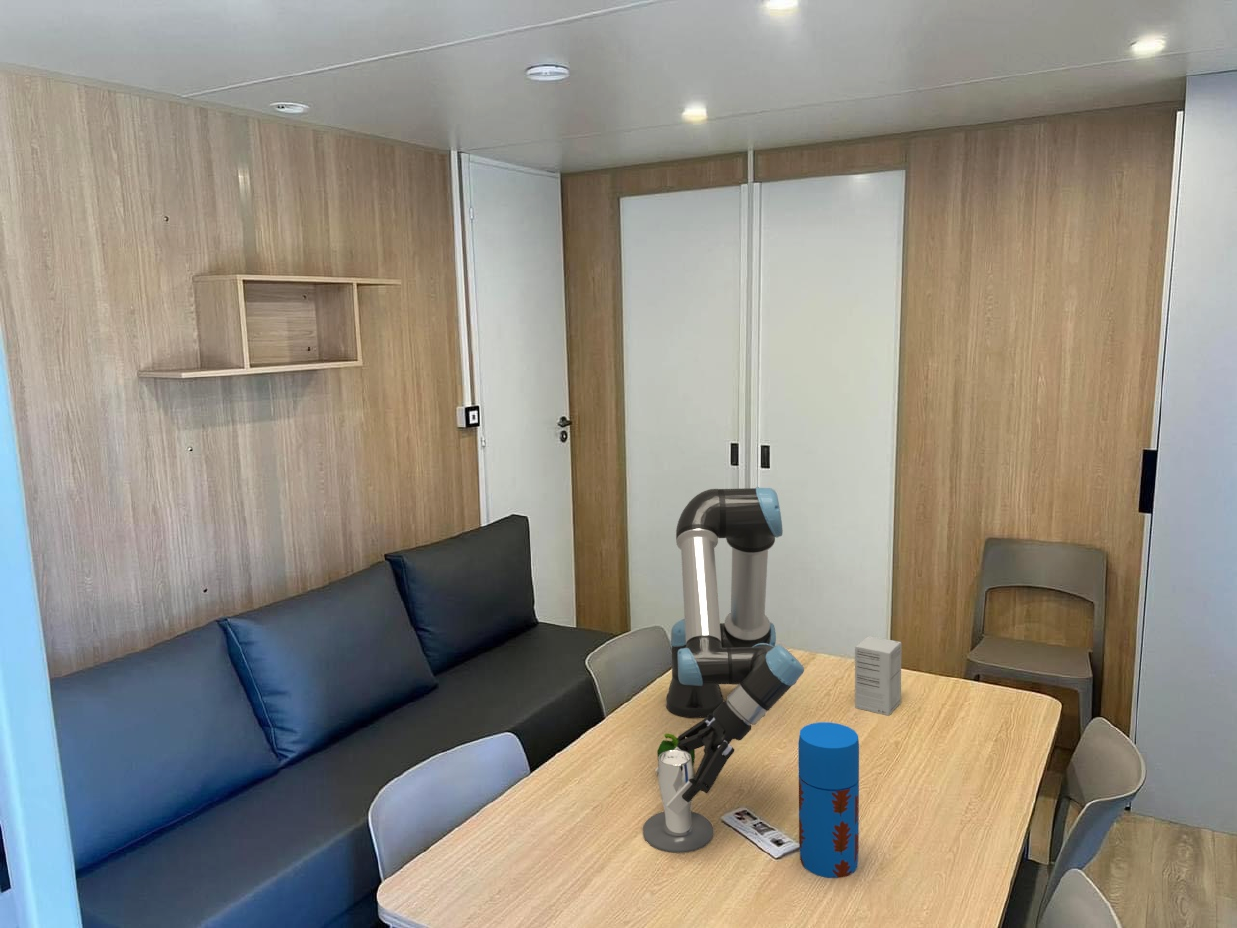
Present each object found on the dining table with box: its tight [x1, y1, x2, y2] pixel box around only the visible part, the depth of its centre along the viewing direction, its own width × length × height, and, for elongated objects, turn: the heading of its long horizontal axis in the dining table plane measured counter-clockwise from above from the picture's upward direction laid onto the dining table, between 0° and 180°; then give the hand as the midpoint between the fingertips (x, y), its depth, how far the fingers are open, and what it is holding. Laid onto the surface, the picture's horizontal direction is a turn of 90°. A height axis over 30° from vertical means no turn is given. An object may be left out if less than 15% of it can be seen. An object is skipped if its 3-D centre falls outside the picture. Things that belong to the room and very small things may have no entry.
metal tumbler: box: [657, 750, 695, 836], centre depth 176 cm, size 7×7×15 cm
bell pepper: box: [656, 733, 696, 767], centre depth 198 cm, size 8×8×10 cm
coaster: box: [642, 810, 714, 854], centre depth 177 cm, size 14×14×1 cm
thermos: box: [797, 721, 860, 879], centre depth 164 cm, size 11×11×25 cm
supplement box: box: [854, 635, 903, 717], centre depth 230 cm, size 10×9×17 cm
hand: (665, 791), depth 176 cm, fingers open, 13 cm apart
